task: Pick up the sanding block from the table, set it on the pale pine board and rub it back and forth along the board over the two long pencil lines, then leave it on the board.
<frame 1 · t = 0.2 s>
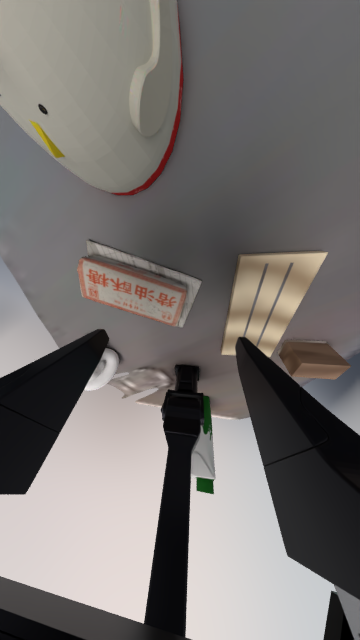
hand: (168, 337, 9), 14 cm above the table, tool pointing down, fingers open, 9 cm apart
packaged product: (145, 287, 23), on the table
white knot sculpture: (104, 350, 36), on the table
milk carton: (197, 398, 47), on the table
board: (256, 314, 23), on the table
kitchen timer: (107, 90, 12), on the table
sanding block: (299, 347, 27), on the table
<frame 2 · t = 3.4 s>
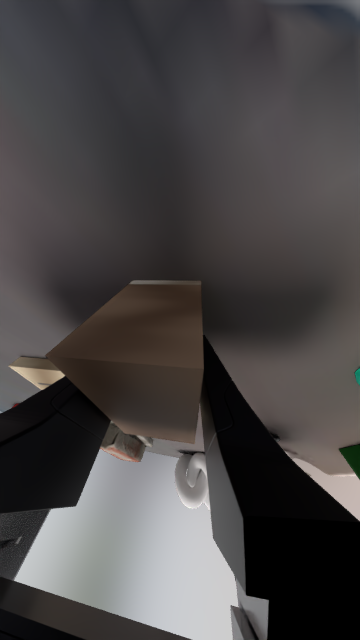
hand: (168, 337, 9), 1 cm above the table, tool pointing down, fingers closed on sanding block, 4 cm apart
packaged product: (126, 424, 30), on the table
white knot sculpture: (201, 453, 37), on the table
board: (116, 387, 17), on the table
sanding block: (170, 327, 10), on the table, touching gripper
when the fingers open (2 cm above the table, at t = 13.6 s): sanding block stays where it is, resting on board.
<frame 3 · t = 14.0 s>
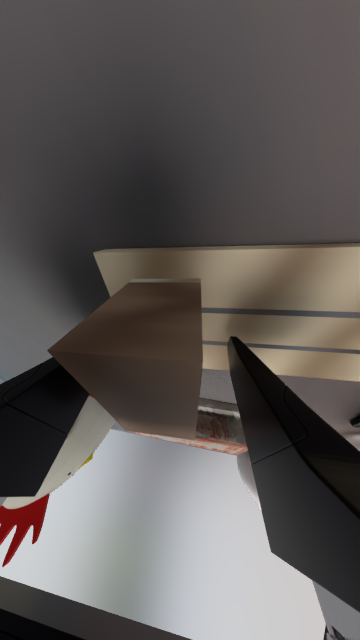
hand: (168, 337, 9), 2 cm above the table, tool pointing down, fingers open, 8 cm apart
packaged product: (187, 404, 22), on the table
white knot sculpture: (264, 446, 30), on the table
board: (251, 320, 10), on the table
kitchen timer: (85, 395, 24), on the table
sanding block: (170, 325, 10), point 1 cm above the table, touching board
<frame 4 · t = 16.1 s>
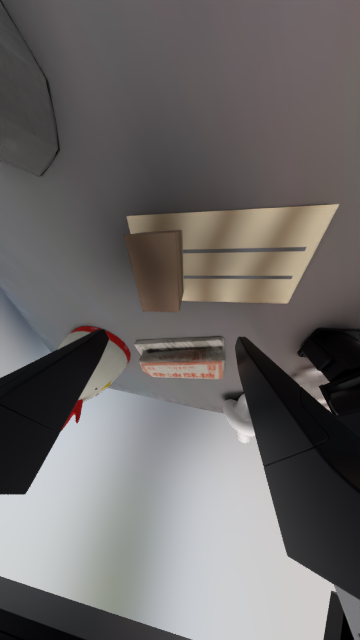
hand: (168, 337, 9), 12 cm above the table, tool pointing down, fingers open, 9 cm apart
packaged product: (181, 351, 29), on the table
white knot sculpture: (246, 397, 37), on the table
board: (215, 262, 17), on the table
kitchen timer: (102, 347, 31), on the table
sanding block: (167, 264, 16), point 1 cm above the table, touching board
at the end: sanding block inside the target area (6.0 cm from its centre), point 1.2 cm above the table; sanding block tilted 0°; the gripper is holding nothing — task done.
